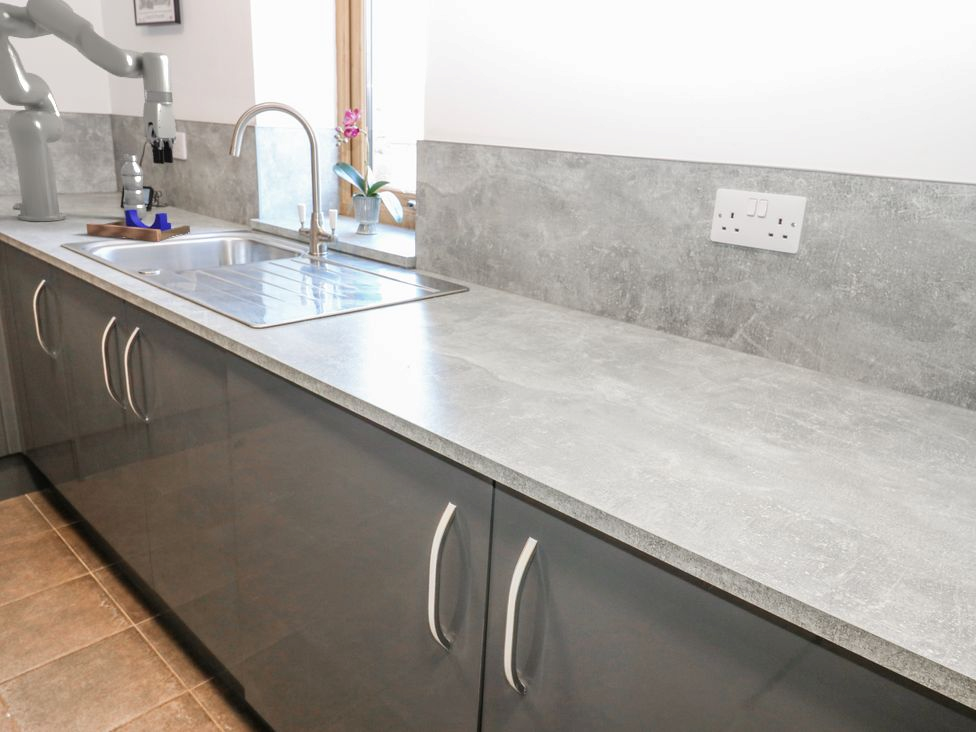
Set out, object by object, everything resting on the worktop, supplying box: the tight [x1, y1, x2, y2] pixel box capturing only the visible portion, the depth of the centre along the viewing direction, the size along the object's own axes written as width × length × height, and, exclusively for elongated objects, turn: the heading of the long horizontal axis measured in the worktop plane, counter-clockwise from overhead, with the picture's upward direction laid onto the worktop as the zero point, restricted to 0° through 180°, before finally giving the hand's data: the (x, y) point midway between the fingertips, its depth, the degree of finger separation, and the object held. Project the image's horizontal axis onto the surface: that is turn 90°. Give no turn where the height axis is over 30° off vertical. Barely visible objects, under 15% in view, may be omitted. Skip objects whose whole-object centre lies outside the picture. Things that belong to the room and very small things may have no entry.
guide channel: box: [85, 219, 191, 242], centre depth 214 cm, size 21×17×3 cm
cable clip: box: [124, 209, 172, 231], centre depth 218 cm, size 12×4×6 cm, turn 74°
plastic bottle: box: [120, 153, 148, 220], centre depth 235 cm, size 6×7×20 cm
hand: (163, 162), depth 222 cm, fingers open, 3 cm apart
